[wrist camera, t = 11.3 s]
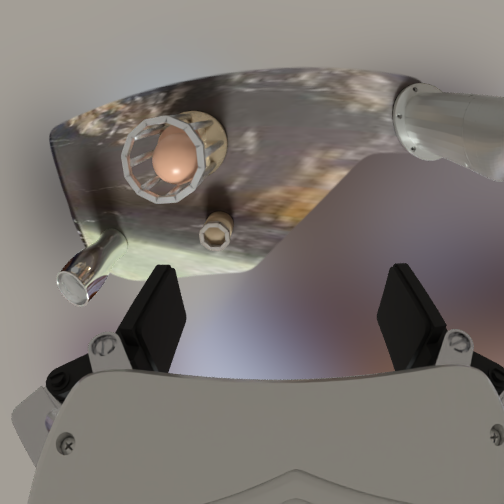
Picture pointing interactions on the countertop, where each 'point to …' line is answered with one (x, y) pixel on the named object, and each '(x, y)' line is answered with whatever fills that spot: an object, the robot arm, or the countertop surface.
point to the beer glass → (91, 267)
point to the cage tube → (207, 147)
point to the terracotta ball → (175, 159)
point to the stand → (216, 231)
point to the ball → (172, 132)
